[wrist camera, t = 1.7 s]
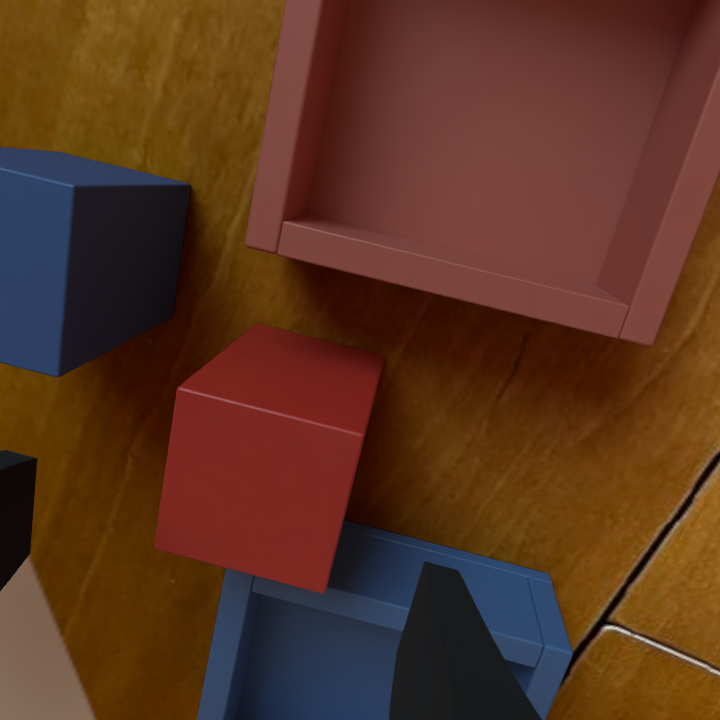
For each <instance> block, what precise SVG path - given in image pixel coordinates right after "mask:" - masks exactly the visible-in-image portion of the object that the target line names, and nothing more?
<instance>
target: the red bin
mask: <svg viewBox="0 0 720 720" xmlns="http://www.w3.org/2000/svg"><path fill="white" fill-rule="evenodd" d="M719 174H720V0H286V2H285V8H284V14H283V20H282V25H281V31H280V37H279V43H278V49H277V55H276V61H275V67H274V73H273V79H272V85H271V90H270V96H269V102H268V108H267V114H266V120H265V126H264V132H263V138H262V144H261V150H260V155H259V161H258V167H257V173H256V179H255V185H254V191H253V197H252V203H251V209H250V215H249V220H248V226H247V232H246V238H245V246H247V247H248V248H252V249H256V250H260V251H264V252H268V253H272V254H275V253H277V255H279V256H283V257H287V258H291V259H295V260H299V261H303V262H307V263H311V264H315V265H319V266H323V267H327V268H331V269H335V270H339V271H343V272H347V273H351V274H356V275H360V276H364V277H368V278H372V279H376V280H380V281H384V282H388V283H392V284H396V285H400V286H404V287H408V288H412V289H416V290H420V291H424V292H428V293H432V294H437V295H441V296H445V297H449V298H453V299H457V300H461V301H465V302H469V303H473V304H477V305H481V306H485V307H489V308H493V309H497V310H501V311H505V312H509V313H514V314H518V315H522V316H526V317H530V318H534V319H538V320H542V321H546V322H550V323H554V324H558V325H562V326H566V327H570V328H574V329H578V330H582V331H586V332H590V333H595V334H599V335H603V336H607V337H611V338H615V339H616V338H619V339H620V340H624V341H628V342H632V343H636V344H640V345H644V346H648V347H649V346H652V345H653V344H654V341H655V338H656V336H657V333H658V331H659V328H660V326H661V323H662V320H663V318H664V315H665V313H666V310H667V308H668V305H669V302H670V300H671V297H672V295H673V292H674V290H675V287H676V284H677V282H678V279H679V277H680V274H681V272H682V269H683V266H684V264H685V261H686V259H687V256H688V254H689V251H690V248H691V246H692V243H693V241H694V238H695V236H696V233H697V230H698V228H699V225H700V223H701V220H702V218H703V215H704V213H705V210H706V207H707V205H708V202H709V200H710V197H711V195H712V192H713V189H714V187H715V184H716V182H717V179H718V177H719Z"/></svg>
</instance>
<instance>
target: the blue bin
mask: <svg viewBox="0 0 720 720" xmlns="http://www.w3.org/2000/svg"><path fill="white" fill-rule="evenodd" d="M424 561H426V562H430V563H433V564H437V565H441V566H445V567H449V568H452V569H456V570H458V571H459V572H460V574H461V576H462V578H463V580H464V582H465V584H466V586H467V588H468V590H469V592H470V594H471V596H472V598H473V600H474V602H475V604H476V606H477V608H478V610H479V612H480V614H481V616H482V618H483V620H484V622H485V624H486V626H487V628H488V630H489V632H490V634H491V636H492V637H493V639H494V641H495V643H496V645H497V646H498V648H499V650H500V652H501V654H502V655H503V657H504V659H505V661H506V663H507V664H508V666H509V668H510V670H511V671H512V673H513V675H514V676H515V678H516V680H517V681H518V683H519V685H520V686H521V688H522V690H523V691H524V693H525V694H526V696H527V697H528V699H529V701H530V702H531V704H532V705H533V707H534V708H535V710H536V711H537V713H538V714H539V716H540V717H541V719H542V720H546V718H547V716H548V713H549V711H550V708H551V706H552V704H553V701H554V699H555V696H556V694H557V692H558V689H559V687H560V684H561V682H562V680H563V677H564V675H565V672H566V670H567V667H568V665H569V663H570V660H571V658H572V655H573V651H572V648H571V645H570V642H569V638H568V635H567V632H566V628H565V625H564V622H563V619H562V615H561V612H560V609H559V605H558V602H557V599H556V596H555V592H554V589H553V586H552V581H551V578H550V575H549V574H548V573H544V572H540V571H537V570H533V569H529V568H525V567H521V566H518V565H514V564H510V563H506V562H502V561H499V560H495V559H491V558H487V557H483V556H480V555H476V554H472V553H468V552H464V551H461V550H457V549H453V548H449V547H445V546H442V545H438V544H434V543H430V542H426V541H423V540H419V539H415V538H411V537H407V536H404V535H400V534H396V533H392V532H388V531H385V530H381V529H377V528H373V527H369V526H366V525H362V524H358V523H354V522H350V521H347V520H344V521H343V525H342V529H341V533H340V537H339V541H338V545H337V549H336V553H335V557H334V561H333V565H332V568H331V572H330V576H329V580H328V584H327V588H326V591H325V592H324V593H323V594H321V593H318V592H314V591H310V590H306V589H303V588H299V587H295V586H291V585H288V584H284V583H280V582H277V581H273V580H269V579H265V578H262V577H258V576H254V575H250V574H247V573H243V572H239V571H236V570H232V569H228V568H226V570H225V575H224V581H223V586H222V591H221V596H220V602H219V607H218V612H217V617H216V623H215V628H214V633H213V638H212V644H211V649H210V654H209V659H208V665H207V670H206V675H205V680H204V686H203V691H202V696H201V701H200V707H199V712H198V717H197V720H389V708H390V700H391V691H392V683H393V675H394V667H395V660H396V653H397V649H398V646H399V643H400V639H401V636H402V633H403V630H404V626H405V623H406V620H407V616H408V613H409V610H410V607H411V603H412V600H413V597H414V594H415V590H416V587H417V584H418V580H419V577H420V574H421V571H422V567H423V564H424Z"/></svg>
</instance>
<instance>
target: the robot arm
mask: <svg viewBox="0 0 720 720" xmlns="http://www.w3.org/2000/svg"><path fill="white" fill-rule="evenodd" d="M36 467H37V458H33V457H30V456H26V455H22V454H18V453H14V452H11V451H7V450H3V451H0V591H1V590H2V589H3V587H4V586H5V585H6V584H7V582H8V581H9V580H10V579H11V577H12V576H13V575H14V574H15V572H16V571H17V570H18V568H19V567H20V566H21V565H22V563H23V562H24V561H25V559H26V558H27V557H28V555H29V554H30V547H31V534H32V520H33V507H34V494H35V480H36ZM389 720H542V719H541V717H540V716H539V714H538V713H537V711H536V710H535V708H534V707H533V705H532V704H531V702H530V701H529V699H528V697H527V696H526V694H525V693H524V691H523V690H522V688H521V686H520V685H519V683H518V681H517V680H516V678H515V676H514V675H513V673H512V671H511V670H510V668H509V666H508V664H507V663H506V661H505V659H504V657H503V655H502V654H501V652H500V650H499V648H498V646H497V645H496V643H495V641H494V639H493V637H492V636H491V634H490V632H489V630H488V628H487V626H486V624H485V622H484V620H483V618H482V616H481V614H480V612H479V610H478V608H477V606H476V604H475V602H474V600H473V598H472V596H471V594H470V592H469V590H468V588H467V586H466V584H465V582H464V580H463V578H462V576H461V574H460V572H459V571H458V570H456V569H452V568H449V567H445V566H441V565H437V564H433V563H430V562H426V561H424V564H423V567H422V571H421V574H420V577H419V580H418V584H417V587H416V590H415V594H414V597H413V600H412V603H411V607H410V610H409V613H408V616H407V620H406V623H405V626H404V630H403V633H402V636H401V639H400V643H399V646H398V649H397V653H396V660H395V667H394V675H393V683H392V691H391V700H390V708H389Z"/></svg>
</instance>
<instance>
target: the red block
mask: <svg viewBox="0 0 720 720" xmlns="http://www.w3.org/2000/svg"><path fill="white" fill-rule="evenodd" d="M384 359H385V358H384V356H383V355H380V354H376V353H372V352H368V351H364V350H360V349H356V348H352V347H348V346H344V345H340V344H336V343H332V342H328V341H324V340H320V339H316V338H312V337H308V336H304V335H300V334H297V333H293V332H289V331H285V330H281V329H277V328H273V327H269V326H265V325H261V324H255V325H254V326H252V327H251V328H250V329H249V330H247V331H246V332H245V333H244V334H242V335H241V336H240V337H239V338H238V339H236V340H235V341H234V342H233V343H231V344H230V345H229V346H228V347H227V348H225V349H224V350H223V351H222V352H220V353H219V354H218V355H217V356H215V357H214V358H213V359H212V360H211V361H209V362H208V363H207V364H206V365H204V366H203V367H202V368H201V369H200V370H198V371H197V372H196V373H195V374H193V375H192V376H191V377H190V378H189V379H187V380H186V381H185V382H184V383H182V384H181V385H180V386H179V387H178V388H177V393H176V400H175V407H174V414H173V420H172V427H171V434H170V441H169V448H168V454H167V461H166V468H165V475H164V482H163V489H162V495H161V502H160V509H159V516H158V523H157V530H156V536H155V543H154V548H155V549H157V550H161V551H165V552H168V553H172V554H176V555H180V556H183V557H187V558H191V559H195V560H198V561H202V562H206V563H209V564H213V565H217V566H221V567H224V568H228V569H232V570H236V571H239V572H243V573H247V574H250V575H254V576H258V577H262V578H265V579H269V580H273V581H277V582H280V583H284V584H288V585H291V586H295V587H299V588H303V589H306V590H310V591H314V592H318V593H321V594H323V593H324V592H325V591H326V588H327V584H328V580H329V576H330V572H331V568H332V565H333V561H334V557H335V553H336V549H337V545H338V541H339V537H340V533H341V529H342V525H343V521H344V517H345V513H346V509H347V505H348V501H349V497H350V493H351V489H352V486H353V482H354V478H355V474H356V470H357V466H358V462H359V458H360V454H361V450H362V446H363V442H364V438H365V434H366V430H367V426H368V422H369V418H370V414H371V410H372V406H373V402H374V398H375V394H376V390H377V386H378V383H379V379H380V375H381V371H382V367H383V363H384Z"/></svg>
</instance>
